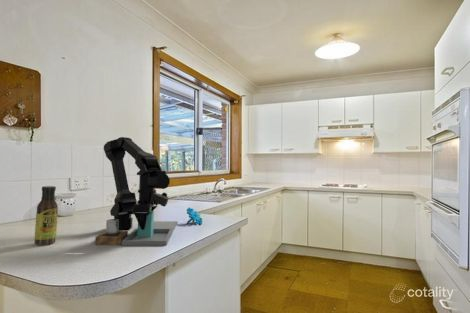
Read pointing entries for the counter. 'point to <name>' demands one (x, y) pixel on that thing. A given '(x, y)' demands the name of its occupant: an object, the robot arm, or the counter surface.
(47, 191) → the sauce bottle
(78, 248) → the counter surface
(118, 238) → the square wooden tray
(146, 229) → the block
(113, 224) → the silver metal cylinder
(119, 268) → the counter surface
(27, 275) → the counter surface
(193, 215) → the blue toy frog
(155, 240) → the case
